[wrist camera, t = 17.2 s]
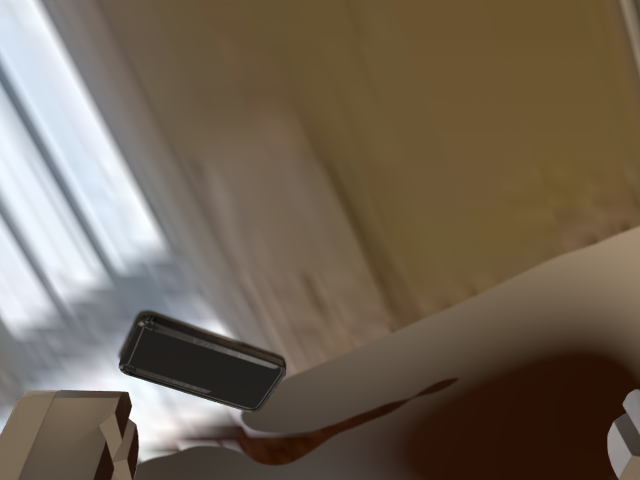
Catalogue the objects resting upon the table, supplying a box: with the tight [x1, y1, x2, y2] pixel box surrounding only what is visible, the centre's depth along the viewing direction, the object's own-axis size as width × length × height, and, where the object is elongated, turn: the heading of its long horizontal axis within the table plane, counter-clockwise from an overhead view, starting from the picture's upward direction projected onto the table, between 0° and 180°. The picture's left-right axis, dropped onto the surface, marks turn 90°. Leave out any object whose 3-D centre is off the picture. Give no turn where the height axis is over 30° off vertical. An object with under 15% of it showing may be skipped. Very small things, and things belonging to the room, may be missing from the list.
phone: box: [119, 315, 286, 412], centre depth 57 cm, size 8×1×15 cm
